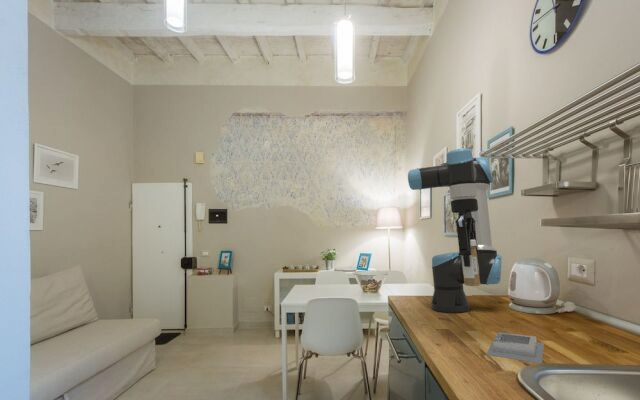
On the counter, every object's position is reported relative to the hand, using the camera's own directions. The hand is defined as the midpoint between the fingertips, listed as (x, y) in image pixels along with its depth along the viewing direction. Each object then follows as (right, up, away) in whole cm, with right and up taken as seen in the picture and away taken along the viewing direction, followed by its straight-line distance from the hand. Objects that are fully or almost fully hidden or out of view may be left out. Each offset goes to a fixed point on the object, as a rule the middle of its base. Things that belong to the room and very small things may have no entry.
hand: (471, 276), depth 97 cm
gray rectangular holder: (+7, -18, -11) cm, 22 cm away
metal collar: (+7, -17, -11) cm, 21 cm away
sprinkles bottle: (0, -3, 0) cm, 3 cm away
